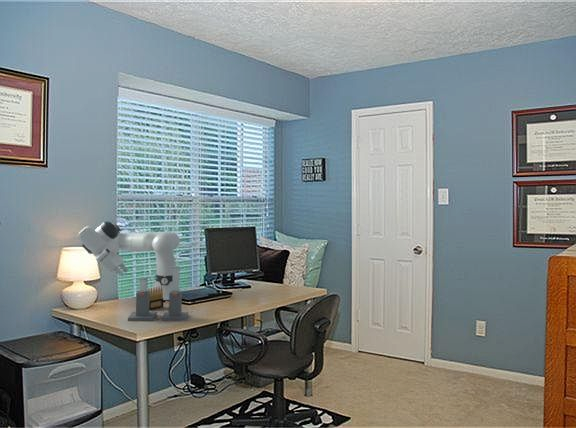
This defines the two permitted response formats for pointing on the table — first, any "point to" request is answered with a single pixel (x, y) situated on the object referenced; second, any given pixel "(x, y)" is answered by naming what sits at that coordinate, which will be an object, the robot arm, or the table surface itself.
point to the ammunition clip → (156, 298)
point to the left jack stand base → (142, 308)
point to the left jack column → (143, 285)
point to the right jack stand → (175, 300)
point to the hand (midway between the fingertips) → (125, 273)
